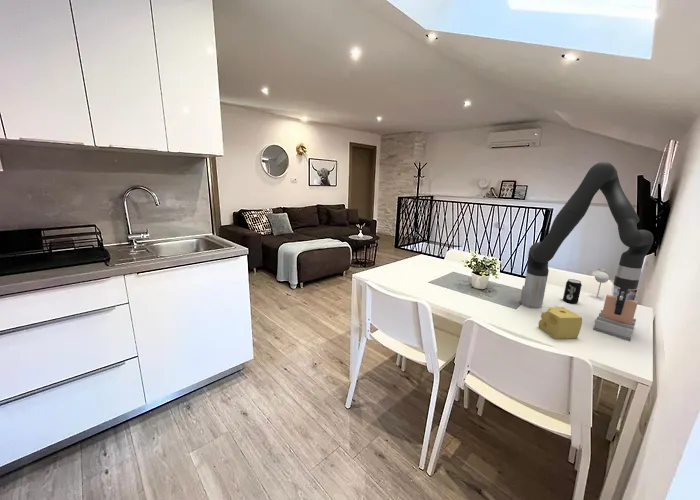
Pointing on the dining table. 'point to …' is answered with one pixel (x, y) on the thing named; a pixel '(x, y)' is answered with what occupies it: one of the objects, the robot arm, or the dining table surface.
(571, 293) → the beverage can
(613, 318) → the peach wooden block
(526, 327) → the dining table surface
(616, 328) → the dish rack
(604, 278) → the lollipop
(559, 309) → the cheese
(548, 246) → the robot arm
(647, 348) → the dining table surface
